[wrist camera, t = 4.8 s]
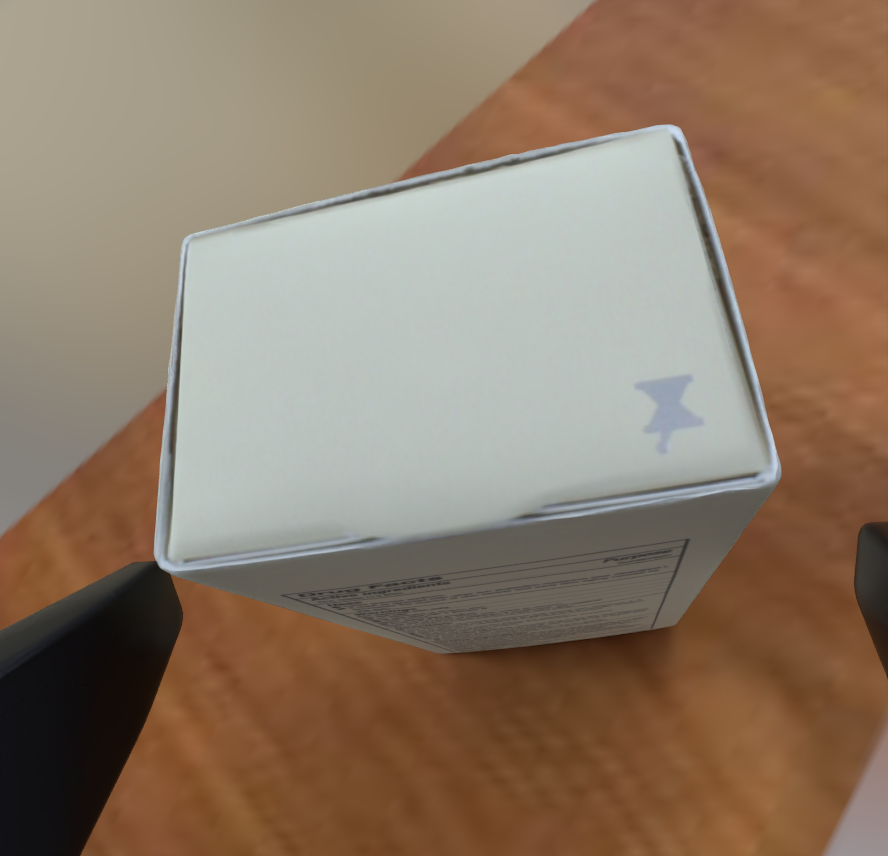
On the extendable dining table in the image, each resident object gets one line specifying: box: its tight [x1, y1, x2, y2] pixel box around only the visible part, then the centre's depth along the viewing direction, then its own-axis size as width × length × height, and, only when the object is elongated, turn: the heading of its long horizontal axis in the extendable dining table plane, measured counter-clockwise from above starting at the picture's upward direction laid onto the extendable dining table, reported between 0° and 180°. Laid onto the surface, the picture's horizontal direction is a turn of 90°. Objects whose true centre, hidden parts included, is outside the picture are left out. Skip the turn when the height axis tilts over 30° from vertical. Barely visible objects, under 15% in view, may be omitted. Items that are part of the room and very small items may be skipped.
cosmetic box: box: [154, 125, 781, 654], centre depth 13 cm, size 6×4×12 cm
